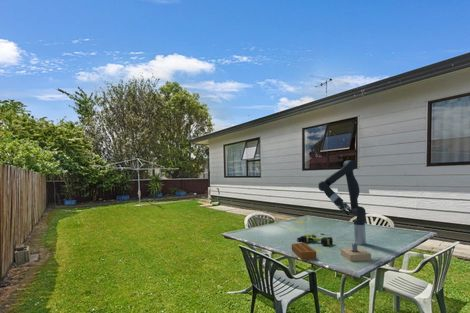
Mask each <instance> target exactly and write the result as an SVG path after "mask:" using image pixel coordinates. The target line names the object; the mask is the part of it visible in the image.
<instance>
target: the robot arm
mask: <svg viewBox="0 0 470 313" xmlns="http://www.w3.org/2000/svg"><path fill="white" fill-rule="evenodd" d="M357 166H358V164H357V162H356V161H354V160H350V159H348V160H345V161H344V162H343V163H342V168H340V169H338V170H337V171H334V172H332V174H330V175H329V176H328V177H326V178H325V180H324V181H319V183H318V189H319V191H321V192H323V193H324V194H325V196H326V197H327V198H329V200H330V201H331V202H332V203H333V204H334V205H335V206H336V207H337V208H338V209H339V210H340V211H341V212H342V213H345V214H346V215H347V216H349V215H350V214H351V215H353V216H355V217H356V219H355V220H354V221H353V233H354V234H353V236H354V243H356V244H357V245H358V246H359V245H361V246H363V245H367V238H366V235H367V234H366V220H367V218H366V217H367V212H366V209H365V207H363V206H360V205H359V203H358V202H359V201H358V199H359V195H360V186H359V183H358V181H357V179H356V176H355V175H354V171H355V170H356V168H357ZM344 176H345V178H346V183H347V184H346V185H347V189H348V190H347V191H348V194H349V201H350V205H349V204H347V203H346V202H344V199H343V198H341V196H339V194H337V193H336V192H335V191H334V190H333V189H332V188H331V185H333V184H334V183H336V182H337V181H338V180H340V179H341V178H342V177H344Z"/></svg>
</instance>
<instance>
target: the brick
mask: <svg viewBox="0 0 470 313" xmlns="http://www.w3.org/2000/svg"><path fill="white" fill-rule="evenodd" d="M291 251H292V252H293V253H294V255H295V256H297V257H298V258H299V260H302V261H306V260H309V261H310V260H317V251H316V250H315V249H314V248H313V247H311V246H310V245H308V244H307V242H296V243H291Z"/></svg>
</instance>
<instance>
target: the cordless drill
mask: <svg viewBox="0 0 470 313" xmlns="http://www.w3.org/2000/svg"><path fill="white" fill-rule="evenodd" d="M313 241H316V242H320V244H322V246H326V247H328V246H331V245H333V244H334V243H333V237H332V236H323V237H317V234H315V233H314V234H311V233H309V234H304V235H301V236H300V237H296V243H311V242H313Z"/></svg>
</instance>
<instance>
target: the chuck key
mask: <svg viewBox="0 0 470 313" xmlns="http://www.w3.org/2000/svg"><path fill="white" fill-rule="evenodd" d="M351 245H352V247H351V248H352V249H353V252H358V250H357V248H358V244H356V243H355V242H354V243H351Z"/></svg>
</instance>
